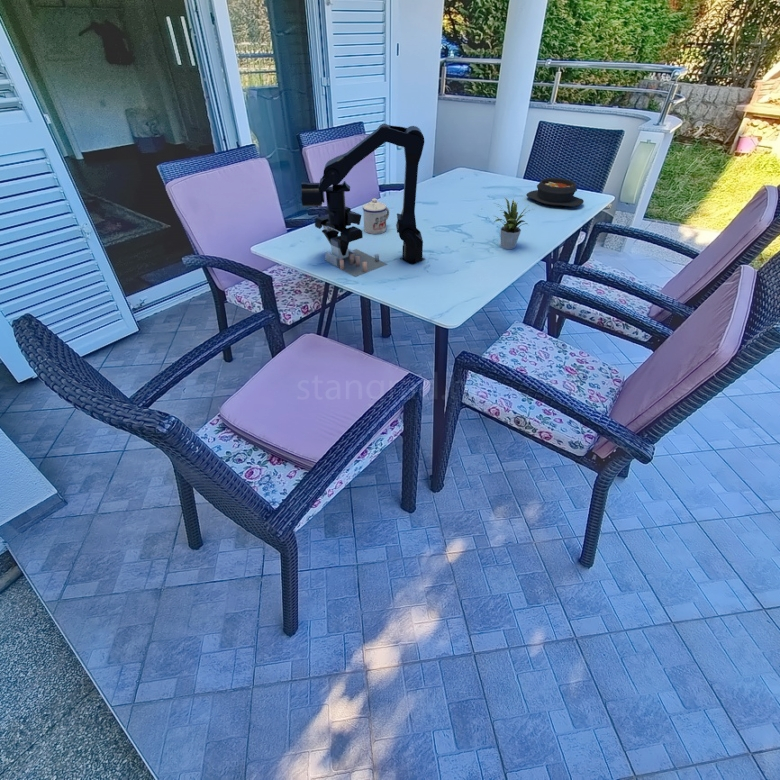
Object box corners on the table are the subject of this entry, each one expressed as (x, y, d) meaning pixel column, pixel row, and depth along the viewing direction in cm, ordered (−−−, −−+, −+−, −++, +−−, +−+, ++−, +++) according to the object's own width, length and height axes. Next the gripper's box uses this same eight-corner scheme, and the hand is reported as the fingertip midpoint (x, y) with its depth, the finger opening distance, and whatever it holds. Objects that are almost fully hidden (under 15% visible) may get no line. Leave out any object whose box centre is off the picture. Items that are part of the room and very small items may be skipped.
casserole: (588, 202, 198) (594, 182, 192) (572, 214, 187) (577, 193, 181) (536, 192, 210) (540, 172, 204) (518, 202, 199) (521, 182, 194)
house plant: (478, 240, 165) (483, 194, 155) (510, 235, 169) (518, 190, 158) (498, 255, 155) (506, 207, 144) (532, 249, 159) (542, 202, 148)
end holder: (355, 260, 151) (354, 251, 149) (337, 266, 147) (336, 258, 145) (343, 254, 155) (342, 245, 153) (325, 260, 151) (324, 251, 149)
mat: (387, 265, 149) (387, 264, 149) (355, 278, 142) (354, 276, 142) (356, 250, 159) (356, 248, 158) (324, 261, 152) (324, 260, 151)
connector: (339, 259, 148) (337, 242, 144) (332, 256, 150) (330, 238, 146) (348, 256, 150) (347, 238, 146) (341, 252, 152) (340, 235, 148)
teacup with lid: (374, 236, 169) (373, 204, 161) (358, 230, 174) (357, 199, 166) (396, 228, 175) (397, 197, 168) (380, 222, 180) (380, 192, 173)
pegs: (386, 264, 149) (386, 255, 147) (353, 276, 142) (353, 267, 140) (369, 255, 154) (369, 247, 152) (337, 267, 147) (336, 258, 145)
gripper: (375, 207, 138) (376, 255, 148) (339, 193, 149) (342, 239, 159) (346, 215, 133) (349, 265, 143) (311, 200, 143) (316, 247, 153)
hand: (340, 253), depth 150 cm, fingers closed on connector, 4 cm apart
